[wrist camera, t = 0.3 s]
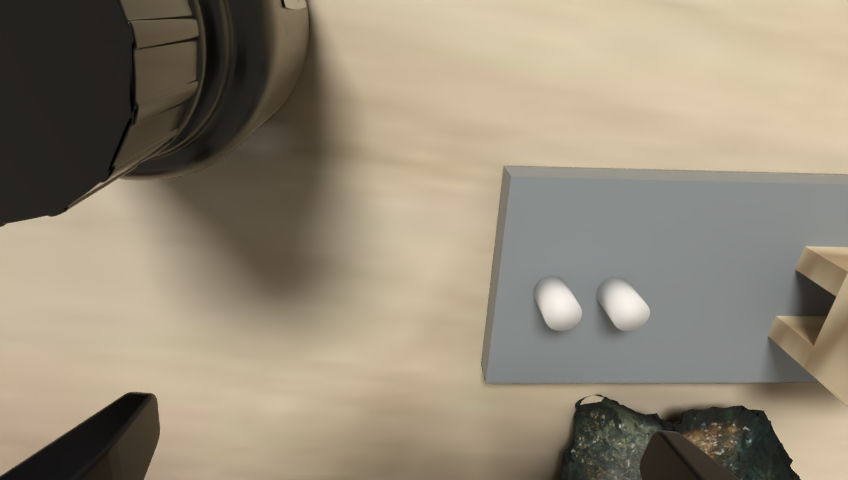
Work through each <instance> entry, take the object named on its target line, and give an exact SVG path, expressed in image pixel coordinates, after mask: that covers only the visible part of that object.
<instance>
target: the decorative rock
mask: <svg viewBox="0 0 848 480" xmlns="http://www.w3.org/2000/svg"><path fill="white" fill-rule="evenodd" d="M593 396H594V395H593ZM597 396H602V395H597ZM589 397H590V396H589ZM602 397H603V396H602ZM585 398H586V397H585ZM585 398H583V399H581V400H579V401H578V402H577V403H576V405H575V408H576V409H577V411H576V413H575V416H574V418H575V436H574V444H573V445H572V446H571V448H570V449H569V451H568V450H567V449H566V450H565V451H564V454H563V473H562V476H561V478H560V480H642V479H641V475H640V470H639V464H640V459H641V457H642V455H643V453H644V450H645V448H646V446H647V444H648V442H649V440H650V437H651V435H652V434H653V433H654V432H655V431H658V430H663V431H675V432H678V433H680V434H681V435H683V436H684V437H685V438H686V439H688V440H689V441H690V442H692V443H693V444H694V445H696V446H697V447H698V448H700V449H701V450H702V451H703V452H705V453H706V454H707V455H709V456H710V457H711V458H713V459H714V460H715V461H716V462H718V463H719V464H720V465H722V466H723V467H724V468H726V469H727V470H728V471H729V472H731V473H732V474H733V475H735V476H736V477H737V478H739V479H740V480H801V479H800V477H799V476H798V475H797V474H796V473H795V472H794V471H793V470H792V469H791V467H790V465H791V463H792V461H793V460H792V459H791V458H790V457H789V456H788V454H787V452H786V451H785V449H784V447H783V445H782V443H780V441H779V439H778V437H777V436H776V434H775V432H774V430H773V428H772V425H771V421H769V420H768V418H767V416H766V414H765V413H764V411H761V410H749V409H747V408H745V407H744V406H733V407H729V408H718V407H711V408H709V409H705V410H693V409H691V410H688V411H684V412H683V413H682V414H681V415H680V420H679V421H678V422H675V423H673V424H672V423H670V422H669V421H666V420H663V419H660V418H659V416H658V415H657V413H656V414H648V415H644V414H641V413H638V412H635V411H633V410H632V409H630V408H627V407H626V406H624V405H620V404H619V403H618V402H617V401H614V400H611V399H608V398H607V397H604V399H603V400H602V401H601V402H597V403H590V404H583V405H580V403H581V402H582V400H584V399H585Z"/></svg>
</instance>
